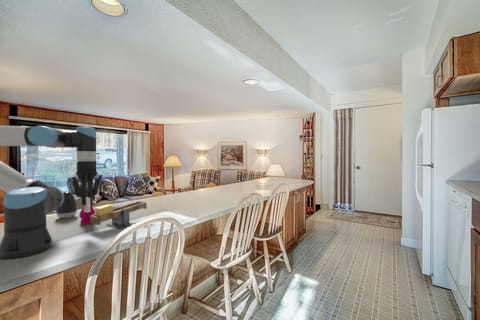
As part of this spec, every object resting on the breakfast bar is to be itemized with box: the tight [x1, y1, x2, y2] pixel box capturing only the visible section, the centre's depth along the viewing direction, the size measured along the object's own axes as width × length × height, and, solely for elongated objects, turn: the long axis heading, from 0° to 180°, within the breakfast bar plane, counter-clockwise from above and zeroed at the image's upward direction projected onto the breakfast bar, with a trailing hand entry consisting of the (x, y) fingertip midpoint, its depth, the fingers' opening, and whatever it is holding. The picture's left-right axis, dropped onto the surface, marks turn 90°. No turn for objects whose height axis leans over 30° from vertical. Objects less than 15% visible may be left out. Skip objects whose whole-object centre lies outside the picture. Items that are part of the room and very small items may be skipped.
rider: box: [94, 204, 113, 217], centre depth 110 cm, size 6×4×4 cm, turn 149°
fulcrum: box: [106, 206, 134, 230], centre depth 117 cm, size 8×12×9 cm, turn 59°
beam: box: [90, 200, 148, 226], centre depth 117 cm, size 26×7×4 cm, turn 149°
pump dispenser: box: [55, 191, 78, 220], centre depth 131 cm, size 10×10×15 cm
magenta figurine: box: [78, 196, 96, 226], centre depth 120 cm, size 7×7×20 cm
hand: (87, 211), depth 103 cm, fingers closed
